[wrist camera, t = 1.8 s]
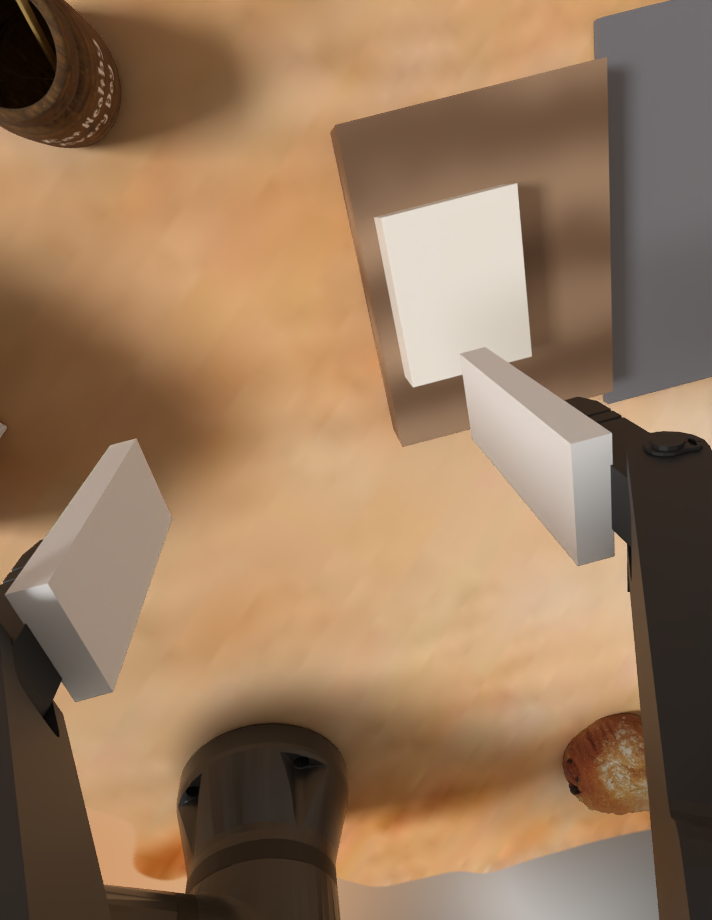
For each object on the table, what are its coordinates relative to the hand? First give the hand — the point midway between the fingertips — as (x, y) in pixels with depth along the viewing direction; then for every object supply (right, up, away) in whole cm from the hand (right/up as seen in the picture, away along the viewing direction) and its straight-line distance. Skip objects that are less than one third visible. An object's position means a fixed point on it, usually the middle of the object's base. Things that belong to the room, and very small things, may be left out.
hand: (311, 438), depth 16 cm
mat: (+23, +15, +18) cm, 33 cm away
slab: (+7, +9, +15) cm, 19 cm away
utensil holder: (-13, +18, +12) cm, 26 cm away
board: (+9, +11, +18) cm, 23 cm away
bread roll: (+27, -30, +40) cm, 56 cm away
